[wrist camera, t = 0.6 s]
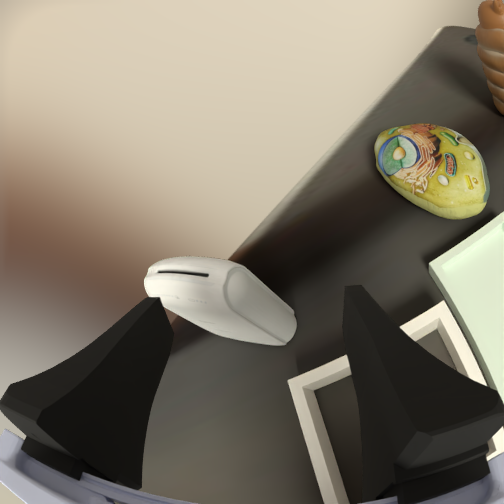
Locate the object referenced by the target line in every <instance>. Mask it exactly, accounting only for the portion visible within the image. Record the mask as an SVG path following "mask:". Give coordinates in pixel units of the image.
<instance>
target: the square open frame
mask: <svg viewBox="0 0 504 504" xmlns="http://www.w3.org/2000/svg"><path fill="white" fill-rule="evenodd" d="M400 328H401V329H402V330H403V331H404V332H405V333H406V334H407V335H408V336H409V337H411V338H412V339H413V340H414V341H417V340H418V339H420V338H422V337H423V336H425V335H427V334H428V333H430V332H432V331H433V330H435V329H437V330H438V332H439V334H440V335H441V337H442V339H443V341H444V343H445V345H446V347H447V349H448V351H449V354H450V356H451V358H452V360H453V362H454V364H455V366H456V368H457V371H458V372H459V373H461V374H463V375H465V376H467V377H468V378H470V379H472V380H474V381H476V382H479V383H481V384H483V385H485V386H487V385H486V382H485V380H484V378H483V376H482V373H481V371H480V369H479V367H478V365H477V362H476V360H475V358H474V356H473V354H472V352H471V350H470V348H469V346H468V344H467V342H466V340H465V338H464V336H463V334H462V332H461V330H460V329H459V327H458V325H457V323H456V321H455V319H454V318H453V316H452V314H451V312H450V310H449V309H448V307H447V305H446V303H445V302H444V300H443V301H442V302H440V303H439V304H437V305H436V306H434V307H432V308H431V309H429V310H428V311H426V312H424V313H423V314H421V315H419V316H418V317H416V318H414V319H413V320H411V321H409V322H407V323H406V324H404V325H402V326H400ZM349 375H351V370H350V366H349V362H348V358H347V355H344V356H342V357H340V358H338V359H336V360H334V361H332V362H329V363H327V364H325V365H323V366H320V367H318V368H316V369H314V370H311V371H309V372H306V373H304V374H302V375H299V376H297V377H294V378H292V379H289V380H288V384H289V387H290V391H291V394H292V397H293V401H294V404H295V407H296V411H297V414H298V417H299V421H300V424H301V428H302V431H303V434H304V438H305V441H306V444H307V448H308V451H309V454H310V458H311V461H312V464H313V468H314V471H315V474H316V478H317V481H318V485H319V488H320V491H321V495H322V498H323V501H324V504H349V501H348V498H347V495H346V491H345V488H344V485H343V481H342V478H341V475H340V472H339V469H338V465H337V462H336V459H335V456H334V453H333V449H332V446H331V443H330V440H329V437H328V434H327V431H326V427H325V424H324V421H323V418H322V415H321V412H320V409H319V406H318V403H317V399H316V396H315V393H314V390H316V389H319V388H321V387H323V386H326V385H328V384H331V383H333V382H335V381H337V380H340V379H342V378H344V377H346V376H349ZM487 443H488V446H489V452H488V453H487V454H486V457H487V461H488V460H490V459H491V458H493V457H495V456H497V455H498V454H500V453H502V452H504V429H503V426H502V428H501V429H500V430H499V431H498V432H497V433H496V434H495V435H494V436H493V437H492V438H491V439H490V440H489V441H488V442H487Z"/></svg>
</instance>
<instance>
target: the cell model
mask: <svg viewBox="0 0 504 504" xmlns="http://www.w3.org/2000/svg"><path fill="white" fill-rule="evenodd" d="M374 151H375V156H376V166H377V169H378V170H379V172H380V173H381V174H382V176H383V177H384V179H385V180H386V181H387V182H388V183H389V184H390V185H391V186H392V187H393V188H394V189H395V190H396V191H397V192H398V193H400V194H401V195H402V196H403V197H405V198H406V199H407V200H409V201H410V202H412V203H414V204H415V205H417V206H419V207H421V208H423V209H425V210H427V211H429V212H431V213H433V214H435V215H437V216H440V217H443V218H448V219H464V218H468V217H471V216H474V215H477V214H478V213H480V212H481V211H482V210H483V208H484V207H485V205H486V203H487V199H488V196H489V192H490V185H489V180H488V176H487V170H486V166H485V163H484V161H483V159H482V157H481V155H480V153H479V152H478V150H477V149H476V148H475V147H474V146H473V145H472V144H471V143H470V142H469V141H468V140H467V139H466V138H465V137H463V136H462V135H461V134H459V133H457V132H455V131H453V130H451V129H448V128H445V127H441V126H438V125H434V124H424V123H423V124H413V125H407V126H400V127H394V128H391V129H388V130H385V131H383V132H382V133H381V134H380V135H379V136H378V138H377V140H376V142H375V146H374Z"/></svg>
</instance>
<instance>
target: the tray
mask: <svg viewBox="0 0 504 504" xmlns="http://www.w3.org/2000/svg"><path fill="white" fill-rule="evenodd" d="M429 274H430V275H431V277H432V278H433V280H434V281H435V283H436V285H437V286H438V288H439V290H440V291H441V293H442V294H443V296H444V298H445V300H446V301H447V303H448V305H449V306H450V308H451V310H452V312H453V313H454V315H455V317H456V319H457V321H458V322H459V324H460V326H461V328H462V330H463V332H464V334H465V335H466V337H467V339H468V341H469V343H470V345H471V347H472V349H473V351H474V353H475V355H476V357H477V360H478V362H479V364H480V366H481V368H482V370H483V373H484V375H485V377H486V379H487V382H488V384H489V386H490V388H492V389H495V390H497V391H498V393H499V394H500V396H501V398H502V401H503V403H504V212H502V213H501V214H500V215H498V216H497V217H496V218H494V219H493V220H492V221H490V222H489V223H488V224H486V225H485V226H483V227H482V228H481V229H479V230H478V231H476V232H475V233H474V234H472V235H471V236H469V237H468V238H466V239H465V240H464V241H462V242H461V243H459V244H458V245H456V246H455V247H453V248H452V249H450V250H449V251H447V252H446V253H444V254H443V255H441V256H439V257H438V258H436V259H435V260H433V261H432V262H430V263H429Z"/></svg>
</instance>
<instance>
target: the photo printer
mask: <svg viewBox="0 0 504 504" xmlns="http://www.w3.org/2000/svg"><path fill="white" fill-rule="evenodd" d="M144 285H145V289H146V292H147V294H148V295H149V297H160V299H161V302H162V304H163V307H165V308H167V309H169V310H171V311H172V312H174V313H176V314H178V315H180V316H181V317H183V318H185V319H187V320H189V321H191V322H192V323H194V324H196V325H198V326H200V327H202V328H204V329H206V330H208V331H210V332H212V333H214V334H217V335H220V336H223V337H228V338H232V339H236V340H241V341H247V342H253V343H259V344H267V345H286V343H287V342H288V341H290V340H291V339H292V337H293V336H294V334H295V331H296V327H297V322H296V318H295V316H294V311H293V309H292V308H290V307H289V306H288V305H287V304H286V303H285V302H284V301H283V300H281V299H280V298H279V297H278V296H277V295H276V294H275V293H273V292H272V291H271V290H270V289H269V288H268V287H267V286H266V285H265V284H263V283H262V282H261V281H260V280H259V279H258V278H257V277H256V276H255V275H254V274H252V273H251V272H250V271H249V270H248V269H247V268H246V267H244V266H243V265H240V264H237V263H234V262H232V261H229V260H224V259H218V258H209V257H197V256H186V257H174V258H168V259H165V260H161V261H159V262H157V263H155V264H154V265H152V266H151V267H150V268H149V269H148V274H147V276H146V277H145V279H144Z"/></svg>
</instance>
